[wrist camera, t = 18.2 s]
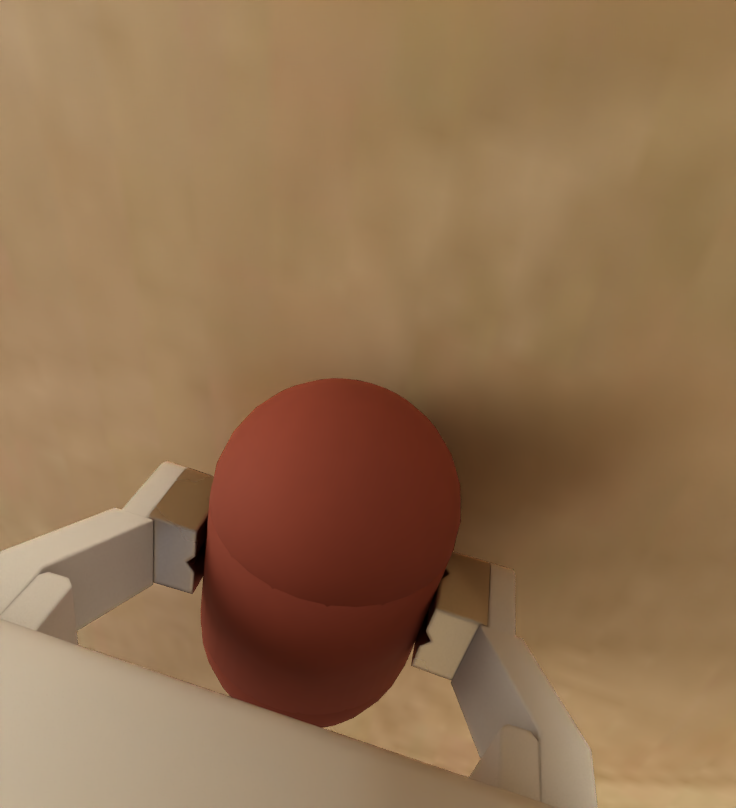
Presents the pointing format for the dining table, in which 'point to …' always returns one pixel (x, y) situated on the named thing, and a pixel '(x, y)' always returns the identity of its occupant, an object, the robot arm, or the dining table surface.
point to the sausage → (325, 548)
